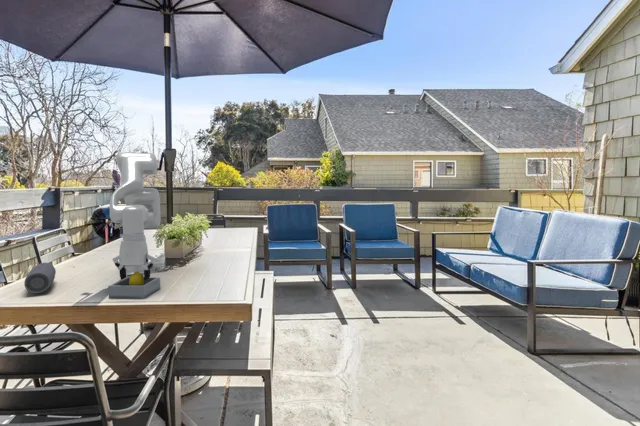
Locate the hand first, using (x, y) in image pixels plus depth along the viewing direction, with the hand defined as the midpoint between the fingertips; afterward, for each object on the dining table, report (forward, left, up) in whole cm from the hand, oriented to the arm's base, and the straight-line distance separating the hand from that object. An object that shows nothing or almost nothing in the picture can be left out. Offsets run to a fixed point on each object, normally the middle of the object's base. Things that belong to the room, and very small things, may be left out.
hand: (135, 278), depth 153 cm
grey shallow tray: (0, 0, -6) cm, 6 cm away
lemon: (0, 0, -5) cm, 5 cm away
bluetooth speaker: (-43, +5, -6) cm, 43 cm away
